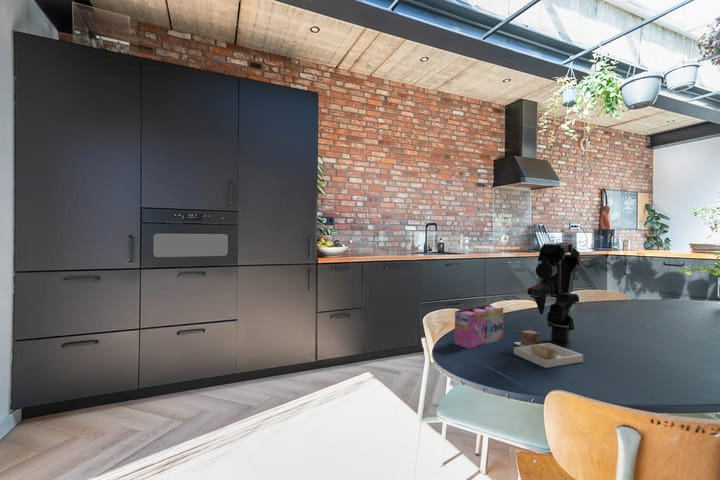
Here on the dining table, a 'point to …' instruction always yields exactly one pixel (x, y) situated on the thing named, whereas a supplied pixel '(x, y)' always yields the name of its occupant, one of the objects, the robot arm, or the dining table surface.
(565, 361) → the bin
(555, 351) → the plain block
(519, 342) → the mat
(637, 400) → the dining table surface
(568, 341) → the robot arm
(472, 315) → the gum box
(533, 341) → the labelled block
